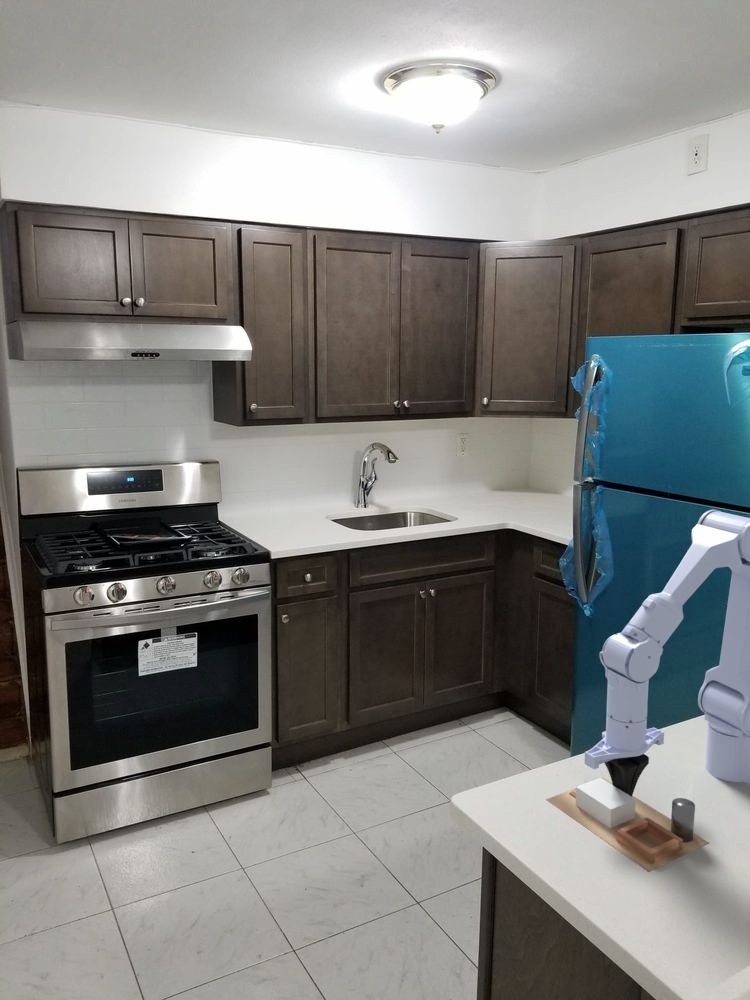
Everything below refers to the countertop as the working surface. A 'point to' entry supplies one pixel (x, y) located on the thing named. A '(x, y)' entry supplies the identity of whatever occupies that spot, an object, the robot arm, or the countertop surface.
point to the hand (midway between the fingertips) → (622, 797)
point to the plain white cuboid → (605, 802)
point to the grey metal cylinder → (683, 819)
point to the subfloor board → (634, 832)
